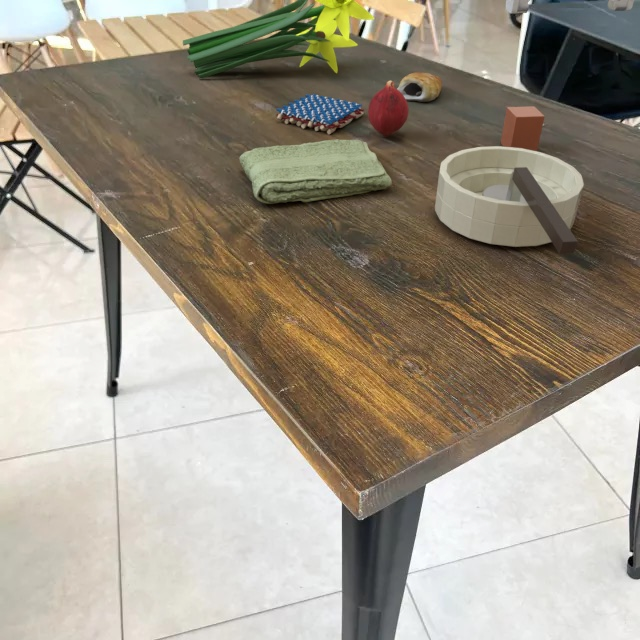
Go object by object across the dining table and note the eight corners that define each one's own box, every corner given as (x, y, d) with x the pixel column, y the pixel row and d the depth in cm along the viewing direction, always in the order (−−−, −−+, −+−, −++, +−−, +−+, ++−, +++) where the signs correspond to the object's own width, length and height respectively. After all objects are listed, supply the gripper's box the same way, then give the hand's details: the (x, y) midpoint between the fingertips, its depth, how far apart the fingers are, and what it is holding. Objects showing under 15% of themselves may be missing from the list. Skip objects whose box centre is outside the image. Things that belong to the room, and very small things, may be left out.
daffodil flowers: (201, 62, 129) (372, 10, 125) (211, 121, 124) (389, 69, 120) (167, -5, 114) (360, -67, 110) (176, 60, 108) (379, -3, 104)
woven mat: (331, 136, 96) (331, 123, 94) (273, 122, 100) (273, 109, 99) (366, 116, 103) (367, 103, 101) (311, 103, 107) (310, 91, 106)
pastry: (414, 84, 116) (416, 61, 113) (450, 90, 113) (453, 67, 111) (393, 99, 109) (395, 75, 107) (430, 106, 107) (433, 82, 104)
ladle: (474, 199, 77) (484, 148, 73) (516, 198, 77) (529, 146, 73) (526, 299, 63) (543, 242, 59) (577, 296, 64) (598, 240, 59)
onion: (408, 144, 93) (413, 87, 89) (368, 143, 93) (371, 87, 89) (403, 129, 98) (408, 75, 93) (365, 129, 98) (368, 75, 93)
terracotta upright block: (526, 142, 94) (534, 106, 91) (536, 153, 91) (544, 116, 88) (500, 143, 94) (506, 106, 91) (509, 154, 91) (516, 116, 88)
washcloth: (396, 193, 81) (398, 168, 79) (257, 211, 77) (256, 186, 75) (361, 153, 91) (362, 130, 89) (237, 167, 87) (235, 144, 85)
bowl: (541, 185, 83) (551, 144, 79) (594, 248, 70) (608, 202, 67) (421, 190, 81) (426, 148, 78) (454, 254, 69) (461, 208, 66)
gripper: (488, -188, 46) (462, 22, 54) (761, -188, 47) (695, 16, 56) (464, -187, 51) (444, 5, 59) (711, -187, 52) (657, 1, 61)
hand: (567, 11), depth 57 cm, fingers open, 8 cm apart
